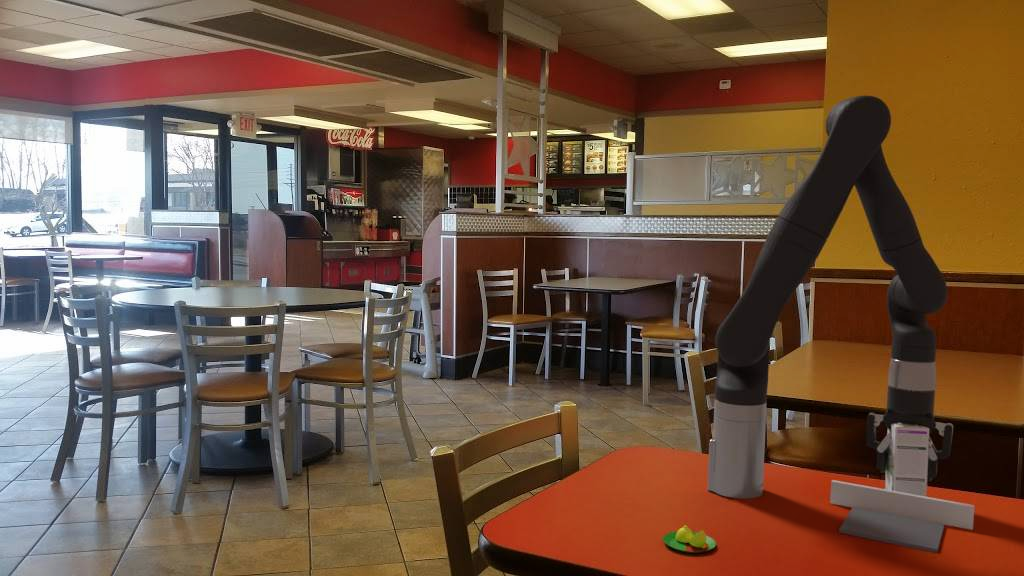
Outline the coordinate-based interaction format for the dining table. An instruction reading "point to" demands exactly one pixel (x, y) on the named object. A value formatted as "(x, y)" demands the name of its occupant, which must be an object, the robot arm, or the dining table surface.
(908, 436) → the syrup box
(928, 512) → the low wall
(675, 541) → the green fruit plate
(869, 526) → the mat
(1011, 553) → the dining table surface
